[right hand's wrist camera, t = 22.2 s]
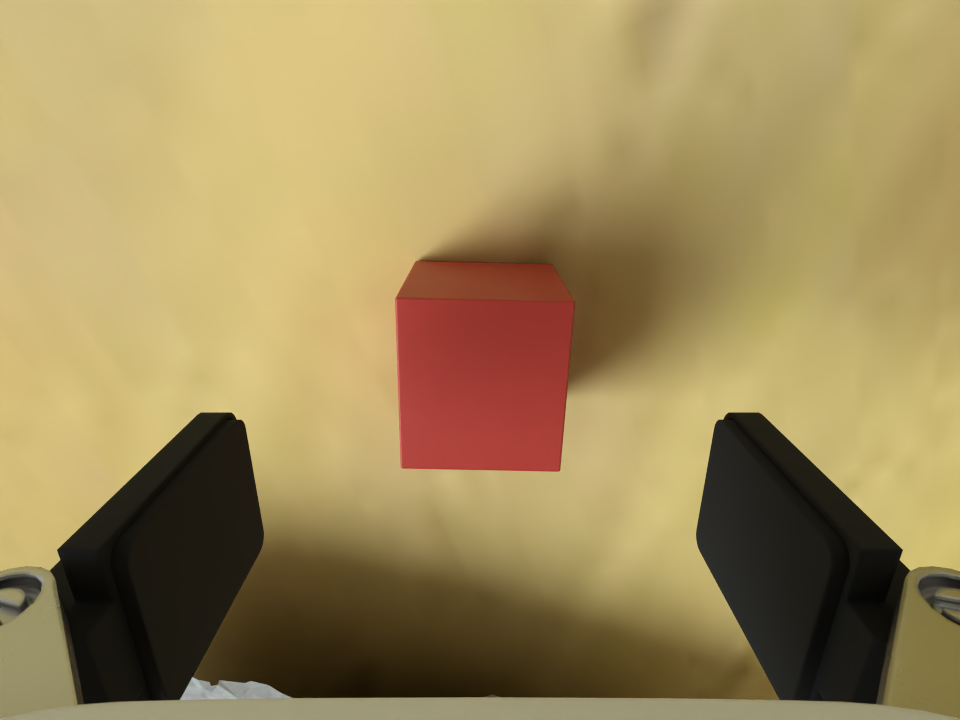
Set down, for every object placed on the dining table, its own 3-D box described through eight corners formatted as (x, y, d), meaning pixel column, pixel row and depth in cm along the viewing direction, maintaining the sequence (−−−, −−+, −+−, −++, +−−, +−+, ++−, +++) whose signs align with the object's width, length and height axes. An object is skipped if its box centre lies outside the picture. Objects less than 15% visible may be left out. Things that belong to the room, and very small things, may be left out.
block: (415, 260, 18) (394, 297, 14) (552, 263, 18) (575, 302, 14) (418, 397, 20) (400, 469, 16) (542, 400, 20) (560, 472, 16)
